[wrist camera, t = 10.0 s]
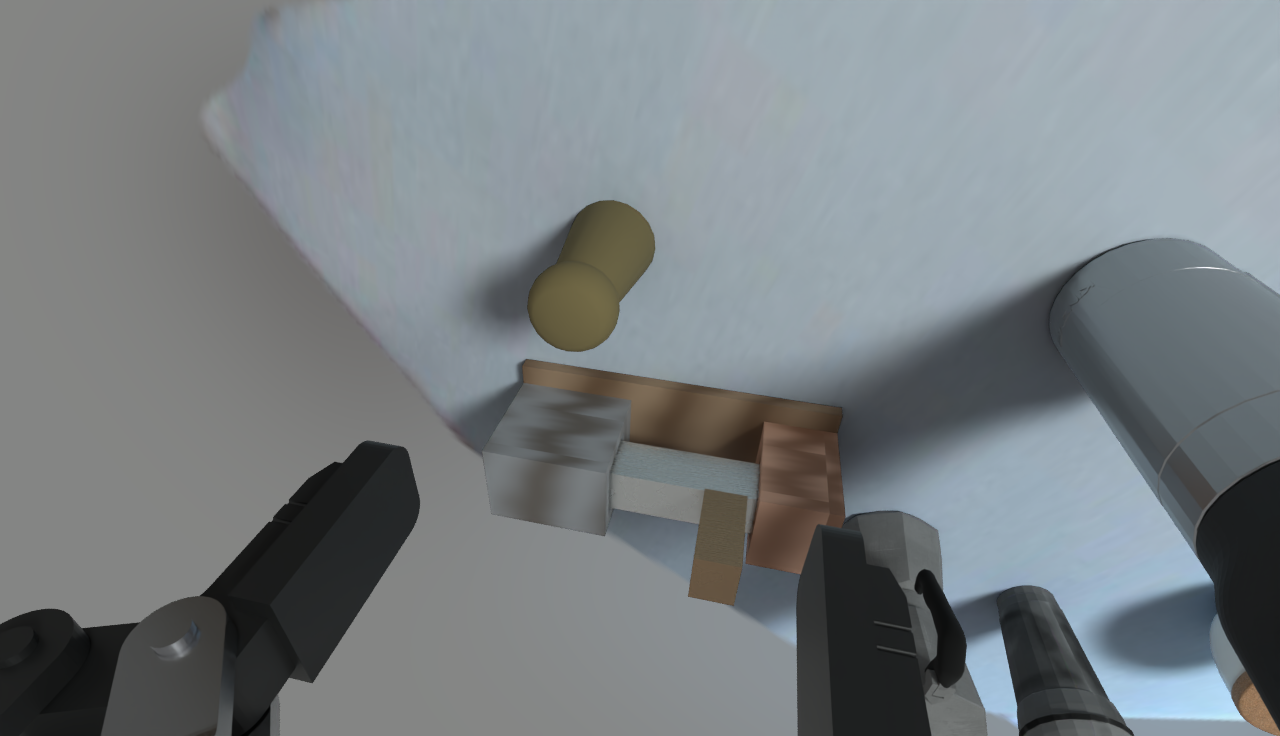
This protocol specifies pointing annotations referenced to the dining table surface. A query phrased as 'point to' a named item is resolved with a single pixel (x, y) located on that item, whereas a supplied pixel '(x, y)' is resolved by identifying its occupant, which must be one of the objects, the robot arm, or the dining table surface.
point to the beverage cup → (1052, 670)
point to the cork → (591, 276)
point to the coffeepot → (926, 617)
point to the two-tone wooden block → (693, 506)
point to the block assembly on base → (669, 418)
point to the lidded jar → (1239, 681)
